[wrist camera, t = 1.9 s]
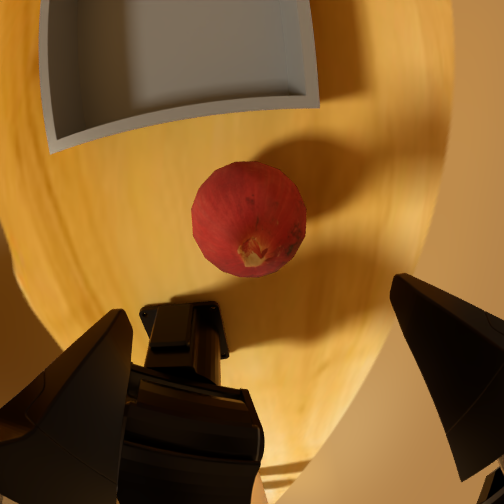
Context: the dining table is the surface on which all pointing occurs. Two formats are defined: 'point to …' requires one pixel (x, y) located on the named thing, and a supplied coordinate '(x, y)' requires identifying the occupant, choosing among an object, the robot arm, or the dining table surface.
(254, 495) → the foam cup
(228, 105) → the bin
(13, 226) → the dining table surface
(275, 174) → the onion
